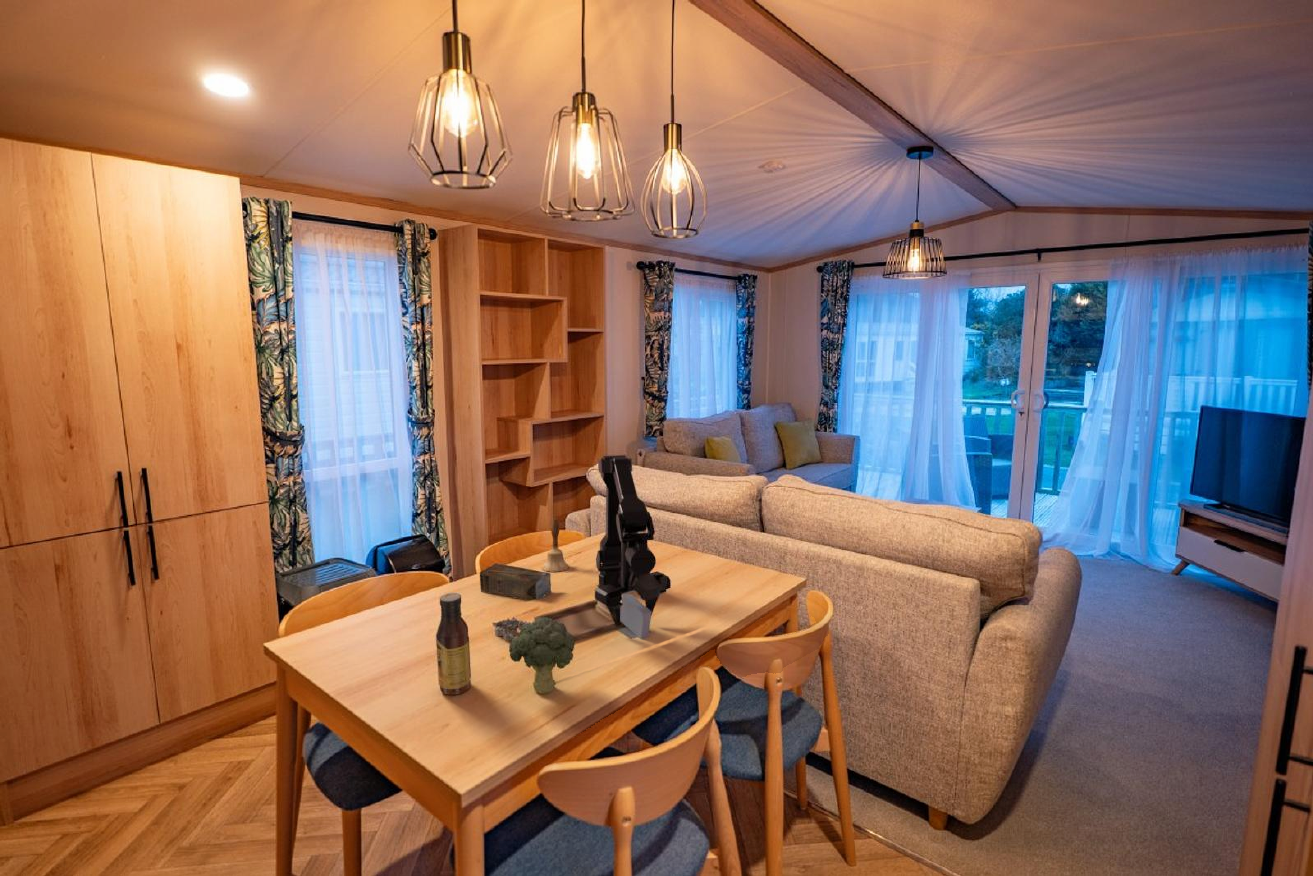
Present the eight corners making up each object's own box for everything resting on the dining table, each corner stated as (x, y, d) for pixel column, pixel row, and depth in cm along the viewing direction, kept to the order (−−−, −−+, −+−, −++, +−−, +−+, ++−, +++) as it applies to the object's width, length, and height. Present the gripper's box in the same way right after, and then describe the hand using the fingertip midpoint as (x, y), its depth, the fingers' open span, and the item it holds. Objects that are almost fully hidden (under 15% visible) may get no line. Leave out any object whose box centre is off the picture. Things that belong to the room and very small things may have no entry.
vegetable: (579, 701, 120) (578, 629, 117) (512, 712, 116) (509, 637, 114) (570, 670, 131) (568, 603, 129) (508, 679, 127) (506, 611, 125)
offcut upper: (609, 602, 161) (609, 597, 161) (621, 610, 156) (621, 605, 156) (597, 606, 159) (597, 600, 159) (610, 614, 154) (610, 608, 154)
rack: (602, 604, 165) (602, 597, 165) (634, 623, 153) (634, 617, 153) (534, 623, 153) (534, 617, 153) (563, 647, 141) (563, 639, 141)
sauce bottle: (443, 680, 127) (438, 589, 124) (474, 679, 127) (470, 588, 124) (435, 698, 120) (429, 602, 117) (467, 697, 121) (463, 601, 118)
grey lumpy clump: (542, 641, 145) (542, 625, 144) (515, 652, 140) (514, 635, 139) (517, 626, 152) (517, 611, 152) (490, 636, 147) (489, 620, 146)
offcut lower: (607, 607, 162) (607, 601, 162) (624, 617, 156) (624, 611, 155) (595, 610, 160) (595, 604, 160) (612, 621, 153) (612, 615, 153)
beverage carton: (536, 603, 166) (535, 580, 165) (478, 592, 173) (477, 570, 172) (552, 592, 173) (551, 570, 172) (496, 582, 181) (495, 561, 180)
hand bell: (568, 562, 197) (567, 514, 195) (569, 571, 189) (568, 521, 187) (542, 564, 196) (540, 515, 194) (541, 573, 188) (540, 522, 186)
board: (627, 618, 152) (629, 593, 150) (648, 637, 145) (651, 611, 144) (619, 620, 151) (622, 595, 149) (640, 640, 144) (643, 613, 142)
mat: (636, 625, 153) (636, 623, 152) (651, 634, 148) (651, 631, 148) (616, 631, 149) (616, 629, 149) (630, 641, 144) (630, 638, 144)
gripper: (619, 578, 134) (620, 645, 136) (685, 560, 145) (684, 623, 147) (593, 564, 143) (593, 627, 145) (656, 548, 154) (656, 607, 156)
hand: (633, 621), depth 148 cm, fingers open, 9 cm apart
